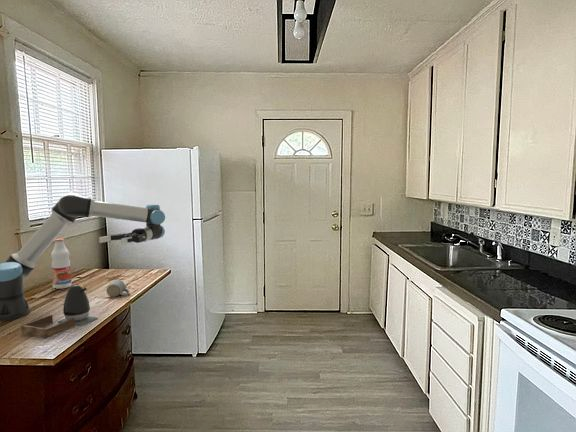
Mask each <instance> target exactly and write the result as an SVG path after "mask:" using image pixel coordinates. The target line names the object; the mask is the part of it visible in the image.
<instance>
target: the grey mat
mask: <svg viewBox="0 0 576 432" xmlns="http://www.w3.org/2000/svg"><path fill="white" fill-rule="evenodd" d="M96 320H98V317H97V316H96V317H94V316H89V315H88V316H87V317H86V318H85V319H83V320H81V321H76V322H75V327H76V326H77V327H83V326H84V325H86V324H89V323H92V322H93V321H96ZM65 321H67V319H66V318H63V319H60V320H58V321H57V324H60V323H62V322H65Z"/></svg>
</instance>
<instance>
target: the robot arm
mask: <svg viewBox="0 0 576 432" xmlns="http://www.w3.org/2000/svg"><path fill="white" fill-rule="evenodd" d="M160 206H161V205H159V204H147V205H146V206H145V207H140V206H134V205H126V204H122V203H121V204H120V203H113V202H105V201H101V200H95V199H93V198H92V197H86V196H83V195H81V194H80V193H77V192H73V191H72V192H68V193H67V192H66V193H65V194H63V195H62V196H61V197H60V198H59V200H58V201H57V203H55V204H54V206H53V207H52V208H51V214H50V216H48V218H46V220H45V221H44V222H43V223H42V224H41V226H40V227H38V229H37V230H36V231H35V232H34V233H33V235H32V236H31V237H30V238H29V239H28V240H27V241H26V243H25V244H24V245H23V246H22V247H21V248H20V249H19V250H18V251H17V252H16V253H11V254H10V255H9V256H8V258H7V259H6V260H5V261H4V262H2V263H0V322H5V321H6V320H7V321H12V320H16V319H20V318H23V317H25V316H27V315H29V314H30V306H29V303H28V302H27V300H26V298H25V294H24V293H25V292H24V281H25V280H26V278H27V277H28V276H29V275H30V274H31V273H32V271H34V269H35V268H36V261H38V259H39V258H40V257H41V256H42V255H43V253H45V251H47V249H48V247H50V245H51V244H52V243H53V242H55V239H57V237H58V236H59V235H60V234H61V232H63V230H64V229H65V228H66V227H67V226H68V224H73V223H74V222H75V221H76V220H77V219H78V218H88V219H89V218H91V217H97V218H107V219H114V220H122V221H129V222H130V221H132V222H139V223H145V226H144V227H139V228H135V229H133V230H132V231H131V232H128V233H126V232H125V233H115V234H107V235H106V236H99V237H98V242H99V244H103V243H108V242H109V243H111V241H120V245H125V244H131V243H136V244H137V243H138V244H139V243H143V242H144V243H146V242H148V241H153V240H158V239H160V238H161V239H162V238H163V237H164V235H165V232H166V231H165V228H164V226H162V225H161V224H163V223H164V222H165V219H166V215H165V212H163V210H161V207H160ZM7 321H6V322H7Z"/></svg>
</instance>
